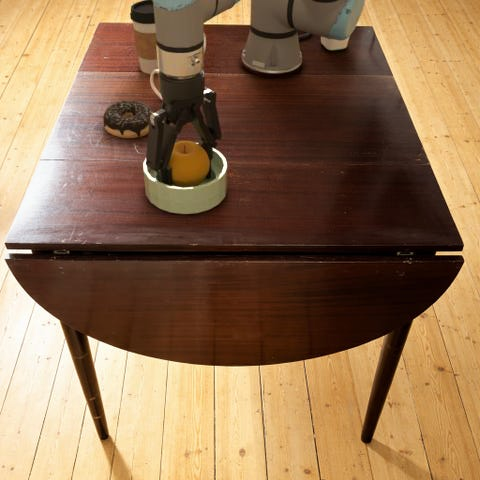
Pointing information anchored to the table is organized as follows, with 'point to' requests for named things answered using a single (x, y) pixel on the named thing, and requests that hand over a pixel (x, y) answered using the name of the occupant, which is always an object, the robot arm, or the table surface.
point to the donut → (127, 119)
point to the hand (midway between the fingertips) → (186, 185)
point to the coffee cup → (145, 34)
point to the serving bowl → (189, 189)
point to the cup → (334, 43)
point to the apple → (188, 164)
